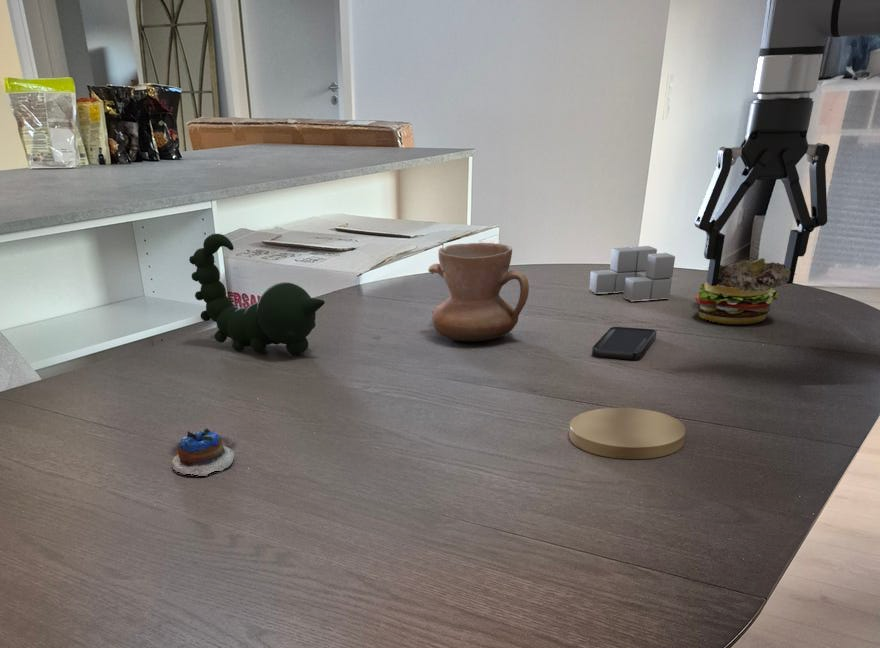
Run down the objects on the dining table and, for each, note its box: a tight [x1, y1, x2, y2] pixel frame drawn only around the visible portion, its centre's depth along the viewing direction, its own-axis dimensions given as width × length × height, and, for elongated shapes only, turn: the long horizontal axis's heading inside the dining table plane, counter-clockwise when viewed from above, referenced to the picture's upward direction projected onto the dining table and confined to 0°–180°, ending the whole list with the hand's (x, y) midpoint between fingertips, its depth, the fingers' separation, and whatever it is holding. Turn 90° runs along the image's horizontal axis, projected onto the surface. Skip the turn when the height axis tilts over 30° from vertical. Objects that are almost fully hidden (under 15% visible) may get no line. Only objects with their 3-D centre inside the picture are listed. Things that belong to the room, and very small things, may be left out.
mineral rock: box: [717, 257, 791, 291], centre depth 120 cm, size 11×4×8 cm
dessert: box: [171, 427, 235, 476], centre depth 102 cm, size 8×7×6 cm
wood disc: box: [568, 407, 687, 460], centre depth 105 cm, size 14×14×2 cm
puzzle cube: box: [588, 245, 676, 300], centre depth 167 cm, size 12×12×8 cm
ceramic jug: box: [427, 242, 530, 343], centre depth 143 cm, size 18×14×14 cm
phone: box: [591, 326, 657, 361], centre depth 139 cm, size 8×1×15 cm
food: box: [695, 281, 780, 326], centre depth 150 cm, size 14×14×8 cm
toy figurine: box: [188, 233, 326, 356], centre depth 139 cm, size 9×19×25 cm
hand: (749, 282), depth 120 cm, fingers closed on mineral rock, 10 cm apart
